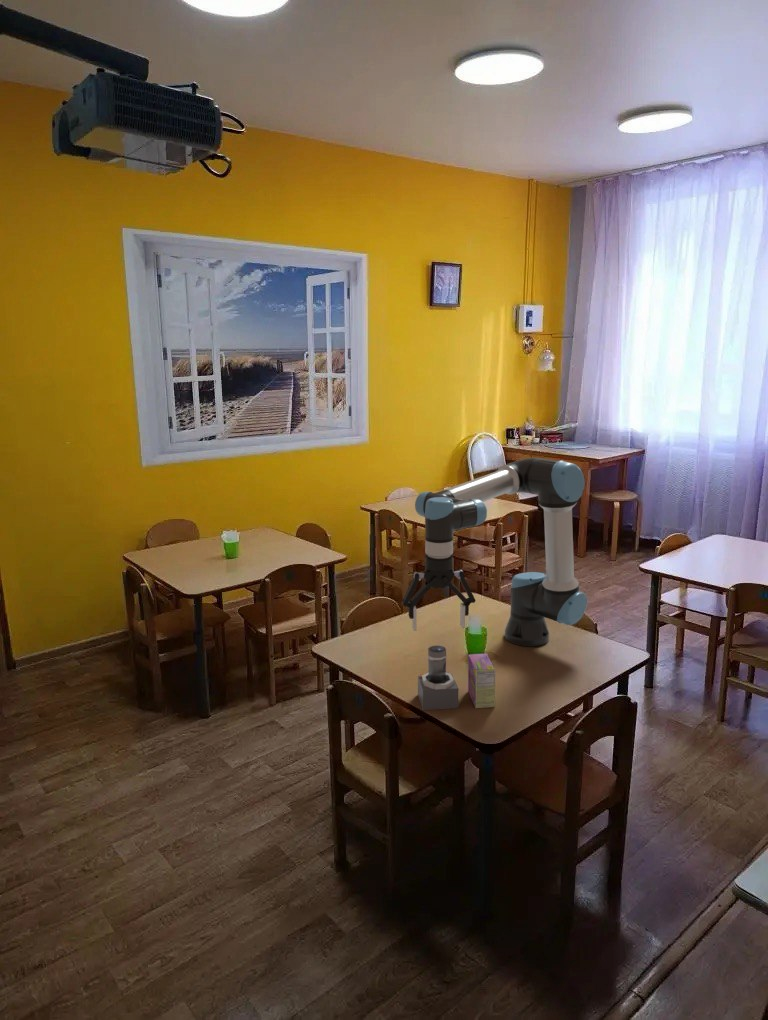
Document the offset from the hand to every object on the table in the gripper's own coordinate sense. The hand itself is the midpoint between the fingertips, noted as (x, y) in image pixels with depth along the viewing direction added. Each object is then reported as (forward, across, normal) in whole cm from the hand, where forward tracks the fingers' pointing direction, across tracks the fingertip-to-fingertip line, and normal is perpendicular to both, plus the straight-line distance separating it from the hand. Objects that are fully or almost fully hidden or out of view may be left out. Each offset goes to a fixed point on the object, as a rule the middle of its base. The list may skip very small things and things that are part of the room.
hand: (438, 627), depth 192 cm
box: (+23, -12, 0) cm, 26 cm away
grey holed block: (+22, 0, 0) cm, 22 cm away
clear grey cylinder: (+16, 0, 0) cm, 16 cm away
